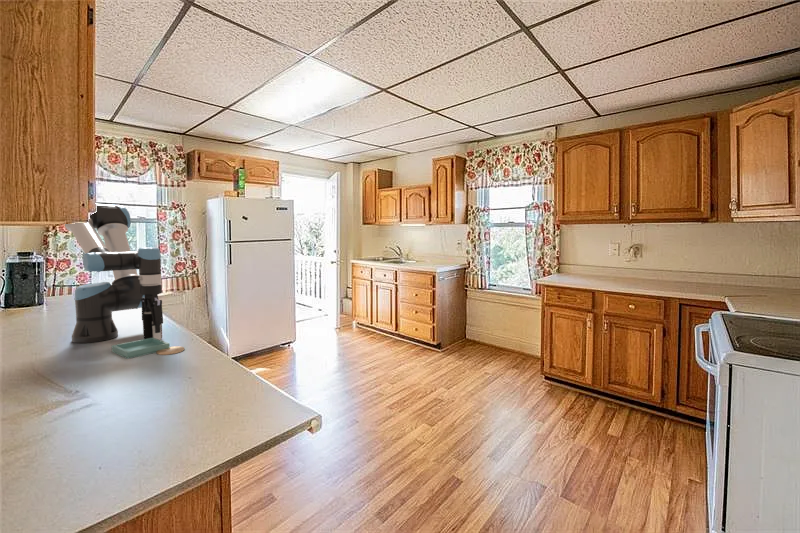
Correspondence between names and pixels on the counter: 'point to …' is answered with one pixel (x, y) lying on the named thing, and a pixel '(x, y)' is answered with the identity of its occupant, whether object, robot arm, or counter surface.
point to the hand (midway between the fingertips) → (153, 338)
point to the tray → (139, 347)
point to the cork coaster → (170, 350)
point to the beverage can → (148, 325)
